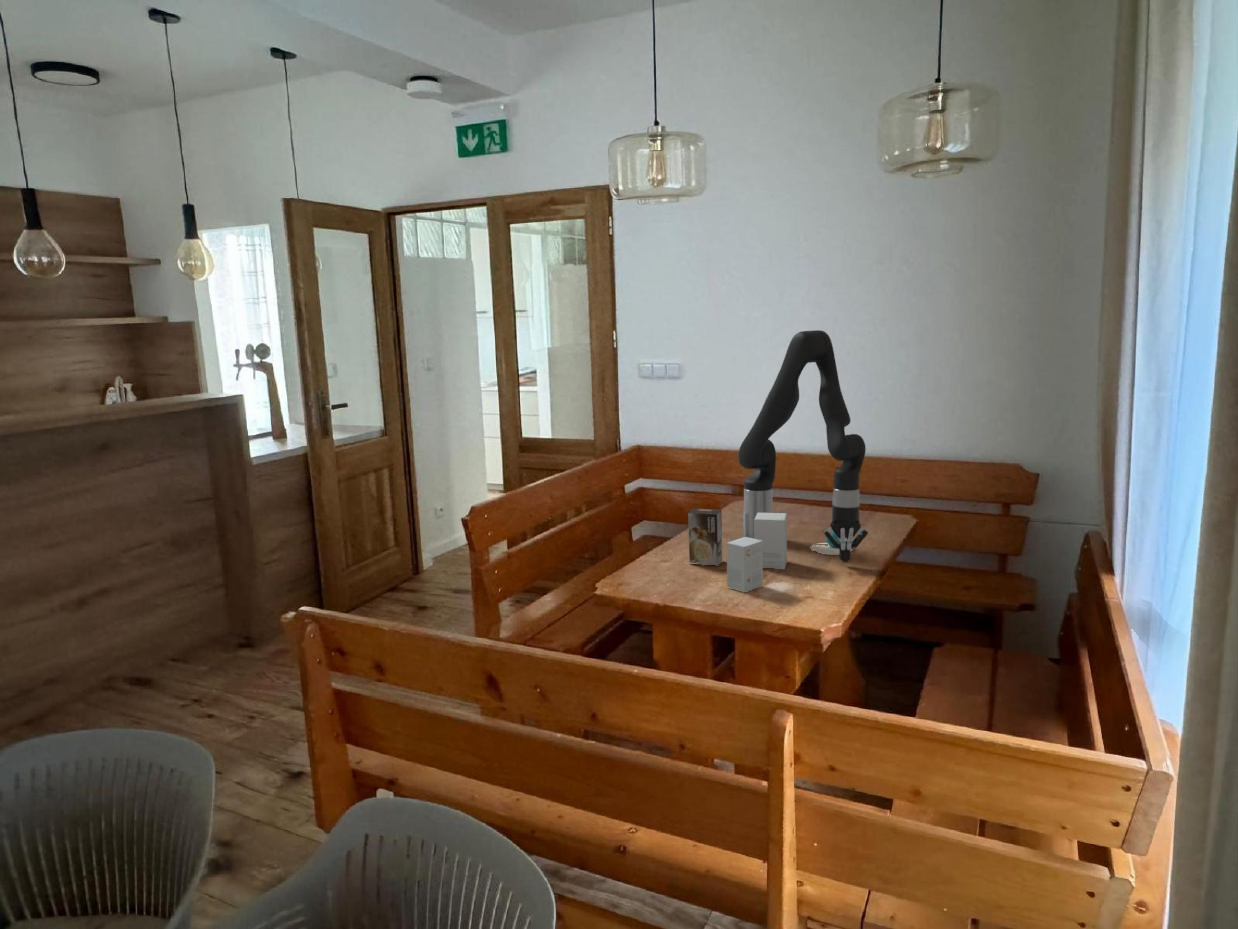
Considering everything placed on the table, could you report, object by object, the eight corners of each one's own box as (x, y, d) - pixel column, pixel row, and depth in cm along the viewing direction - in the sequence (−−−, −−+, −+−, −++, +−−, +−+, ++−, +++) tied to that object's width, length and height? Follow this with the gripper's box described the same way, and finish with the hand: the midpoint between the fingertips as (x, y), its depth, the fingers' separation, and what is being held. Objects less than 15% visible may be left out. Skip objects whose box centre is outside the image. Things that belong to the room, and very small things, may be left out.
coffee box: (723, 561, 247) (722, 509, 244) (718, 567, 241) (718, 514, 238) (693, 558, 250) (693, 507, 247) (688, 564, 244) (687, 512, 241)
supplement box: (787, 561, 245) (787, 512, 242) (785, 570, 236) (785, 520, 234) (757, 559, 247) (757, 511, 245) (753, 568, 239) (753, 518, 236)
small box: (745, 581, 227) (744, 536, 225) (763, 586, 223) (763, 540, 221) (726, 588, 222) (726, 542, 220) (744, 593, 217) (744, 546, 215)
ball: (828, 529, 255) (825, 528, 260) (826, 547, 255) (823, 545, 260) (846, 531, 254) (842, 529, 260) (845, 548, 254) (841, 547, 260)
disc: (814, 555, 250) (814, 554, 250) (806, 543, 262) (806, 543, 262) (857, 554, 249) (857, 554, 249) (846, 543, 262) (846, 542, 262)
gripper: (825, 507, 231) (824, 565, 234) (872, 506, 231) (871, 565, 234) (820, 501, 239) (819, 558, 242) (865, 500, 238) (864, 557, 241)
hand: (844, 561), depth 238 cm, fingers closed
